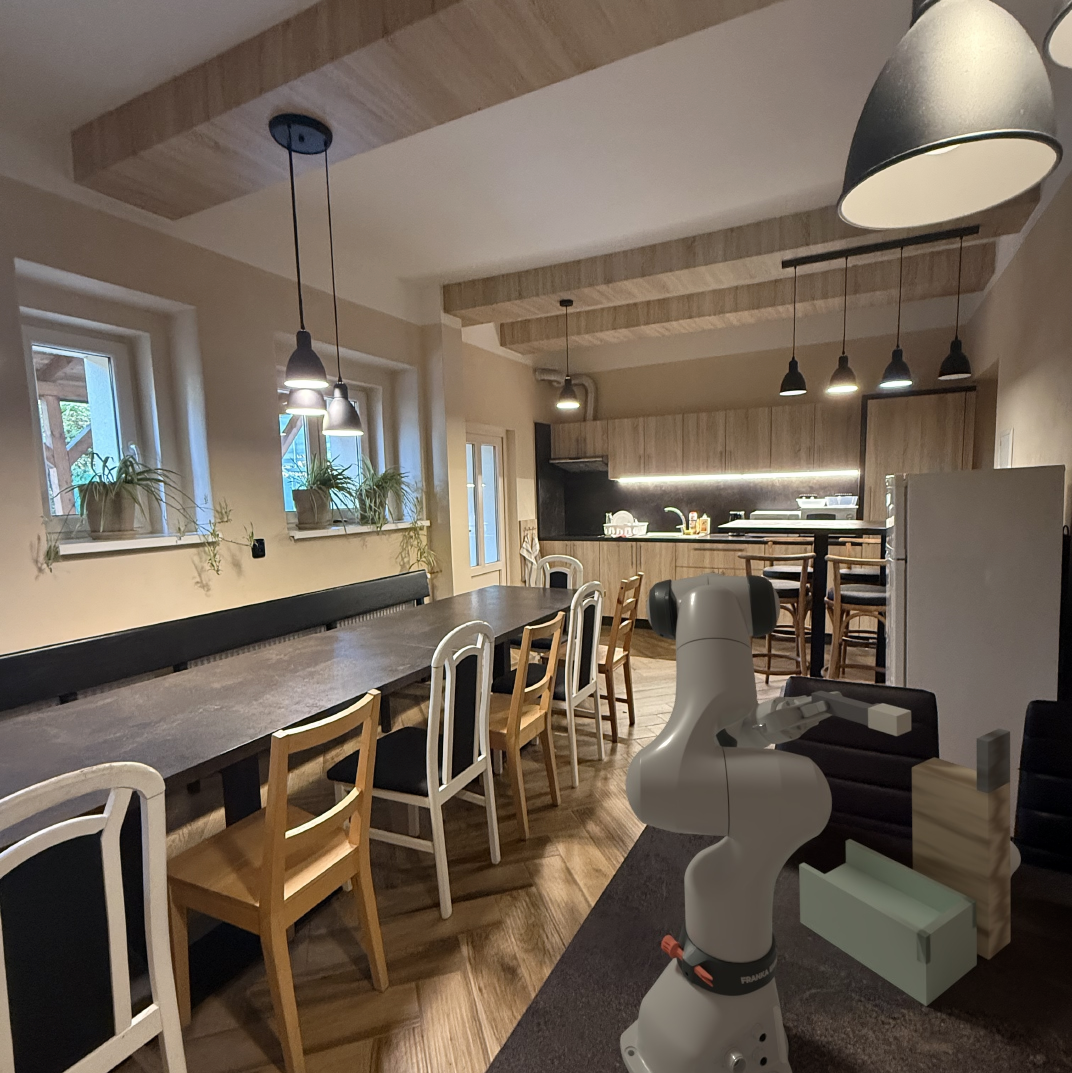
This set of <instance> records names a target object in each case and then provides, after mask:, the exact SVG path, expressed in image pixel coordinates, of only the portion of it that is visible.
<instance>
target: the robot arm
mask: <svg viewBox="0 0 1072 1073" xmlns="http://www.w3.org/2000/svg"><path fill="white" fill-rule="evenodd" d="M647 596H648V597H647V599H646V606H645V610H646V611H645V612H646V617H647V620H648V622H649V624H650V626H651V628H652V632H654V633H655V634H656V635H657V636H659V637H660V638H663V639H667V640H668V639H669V640H674V641H675V662H676V663H675V664H676V665H675V666H676V668H675V669H676V672H675V673H676V676H675V677H676V680H675V683H676V684H675V695H674V696H675V697H674V698H675V699H674V703H673V708H672V711H671V714H670V716H669V718H668V720H667V722H666V724H665V726H664V727H663V728H662V729H661V731H660V732H659V734H658V735H656V737H655V738H654V739H653V740H652V741H651V742H650V743H648V744H646V745H645V746H643V747H642V748H640V750H639V751H638V752H637V753H636V754H635V755H634V756H633V758H632V759H631V761H630V764H628V765H629V766H628V768H627V772H626V775H625V776H626V777H625V792H626V797H627V798H626V799H627V801H628V804H629V806H630V808H631V810H632V813H634V815H635V816H636V818H637V819H638V820H639V821H640V823H641V824H644V825H647V826H651V827H653V828H657V829H661V830H664V831H667V832H672V833H676V834H686V835H687V834H690V835H691V834H692V835H701V836H702V835H703V836H720V837H724V838H722V839H720V841H718V842H717V843H715V844H712V845H710V846H708V847H706V848H704V849H702V850H701V851H699V852H698V853H696V855H695V856H694V857H693V858H692V859H691V860H690V862H689V864H688V866H687V868H686V869H685V873H684V878H683V879H684V880H683V882H684V905H685V906H684V907H685V908H684V911H685V918H684V920H683V923H682V925H681V926H682V927H681V929H680V934H679V938H678V941H676V940H675V938H674V937H673V936H672V935H670V934H667V935H665V936H664V937H663V939H662V941H661V945H660V947H661V949H662V951H663V952H664V953H666V954H668V955H669V957H670V958H671V959H672V960H671V961H670V962H669V963H668V964H667V966H666V967H665V969H664V970H663V971H662V972H661V974H660V976H659V977H658V978H657V979H656V981H655V982H654V984H653V985H652V987H651V988H650V989H649V990H648V992H647V993H646V994H645V995H644V997H643V999H642V1001H641V1003H640V1005H639V1009H638V1010H639V1011H638V1018H637V1019H636V1020H635V1021H634V1022H632V1024H630V1026H628V1027H627V1029H625V1030H624V1031H623V1033H621V1035H620V1042H619V1046H620V1053H621V1057H622V1060H623V1063H624V1065H625V1067H626V1069H627V1071H628V1073H793V1071H792V1068H791V1065H790V1062H789V1042H788V1040H789V1039H788V1036H787V1033H786V1030H785V1028H784V1024H783V1017H782V1016H783V1015H782V1009H781V1004H780V999H779V995H778V994H779V993H778V990H777V988H778V987H777V982H776V977H775V976H776V973H777V967H778V964H777V962H778V952H777V946H776V944H777V942H776V937H775V934H774V932H773V906H774V905H773V904H774V903H773V902H774V893H775V886H776V882H777V879H778V877H779V876H780V875H779V874H780V872H781V871H782V869H783V867H784V865H785V864H786V862H787V861H788V859H789V858H790V857H791V856H792V855H793V854H795V852H796V851H797V850H798V849H799V848H800V847H802V846H803V845H804V844H806V843H807V842H808V841H810V840H812V839H813V838H815V837H817V836H819V835H820V834H822V832H823V831H824V829H825V828H826V826H827V824H828V822H829V819H830V818H831V817H830V816H831V813H832V804H833V801H832V800H833V798H832V792H831V789H830V785H829V782H828V780H827V778H826V777H825V774H824V773H823V771H822V769H820V767H819V766H818V765H817V763H816V762H814V761H813V760H812V759H811V758H810V757H808V756H805V755H801V754H797V753H792V752H789V751H785V750H780V749H775V748H768V747H770V746H771V745H779V744H783V743H788V742H790V741H794V740H797V739H799V738H801V736H802V735H803V734H804V733H806V732H807V731H808V730H810V729H811V728H813V727H816V726H818V725H819V722H820V721H823V720H825V719H827V718H829V717H831V716H833V715H832V714H828V713H825V712H822V711H825V710H828V709H830V705H829V703H828V701H827V700H823V701H820V702H817V703H813V704H812V698H811V695H810V696H807V695H799V696H791V697H789V696H785V697H784V696H776V697H773V698H771V699H769V700H765V701H763V702H760V703H759V700H758V692H757V682H756V675H755V665H754V659H753V658H754V657H753V650H752V644H751V638H750V637H752V638H759V637H763V636H767V635H769V634H772V633H773V632H774V630H775V629H776V628H777V625H778V624H777V623H778V621H779V618H780V613H781V602H780V597H779V594H778V593H777V590H776V589H775V588H774V586H773V583H772V581H770V580H769V579H768V578H766V577H765V576H762V575H755V574H747V575H746V576H743V575H741V576H739V575H724V574H722V573H718V572H705V573H704V572H703V573H702V574H698V575H697V576H690V577H685V578H678V579H674V580H672V579H671V578H669V579H664V580H662V581H659V582H656V583H654V584H653V586H652V587H651V588H650V589H649V594H648V595H647ZM828 693H832V694H836V695H839V696H843V694H842V693H841V692H840V691H836V690H835V691H831V692H828Z"/></svg>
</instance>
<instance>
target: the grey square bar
mask: <svg viewBox="0 0 1072 1073" xmlns="http://www.w3.org/2000/svg"><path fill="white" fill-rule="evenodd" d="M810 694H811V695H810V696H811V698H812V704H813V703H817V702H820V701H823V700H827V701H828V703H829V705H830V709H828V710H825V711H822V712H825V713H828V714H832V716H836V717H838V718H841V719H845V720H848V721H851V722H855V723H857V724H862V725H864V726H867V727H868V728H869V729H872V730H876V731H878V732H881V733H882V732H883V733H885V734H889V735H892V736H894V737H898V736H901V735H904V734H906V733H908V732H911V731H912V710H909V709H906V708H903V707H898V706H895V705H891V704H887V703H883V702H882V703H879V702H876V703H874V704H871V703H868V702H864V701H861V700H857V699H853V698H850V697H846V696H844V695H842V696H839V695H836V694H832V693H829V692H828V691H824V690H818V691H814V692H812V693H810Z"/></svg>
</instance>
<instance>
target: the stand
mask: <svg viewBox="0 0 1072 1073" xmlns="http://www.w3.org/2000/svg"><path fill="white" fill-rule="evenodd" d="M911 807H912V808H911V812H912V814H911V817H912V819H911V821H912V823H911V824H912V830H911V831H912V833H911V834H912V870H914V871H917V872H919V873H921V874H923V875H925V876H927V877H929V878H931V879H933V880H935V881H937V882H939V883H941V884H943V885H945V886H947V887H949V888H951V889H953V890H955V891H957V892H959V893H962V894H964V895H966V896H968V897H970V898H972V899H974V900H976V915H977V955H979V956H981V957H982V958H984V959H987V960H988V961H989V960H991V959H992V958H993V957H994V956H996V954H998V953H999V952H1000V951H1002V950H1003V949H1004V948H1005V947H1006V946H1007V945H1008V944H1010V943H1011V879H1010V841H1011V731H1010V730H1007V729H1003V728H997V729H994V730H992V731H990V732H987V733H986V734H983V735H982V736H979V737H977V738H976V769H972V768H969V767H966V766H964V765H960V764H958V763H954V762H951V761H949V760H944V759H942V758H938V757H932V758H930V759H927V760H925V761H923V762H921V763H919V764H916V765H914V766H912V767H911Z"/></svg>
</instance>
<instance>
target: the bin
mask: <svg viewBox="0 0 1072 1073" xmlns="http://www.w3.org/2000/svg"><path fill="white" fill-rule="evenodd" d="M798 869H799V872H798V873H799V874H798V875H799V880H798V881H799V914H800V915H799V917H800V919H799V922H800V923H801V924H802V925H803V926H805V927H807V928H809V929H810V930H811V931H813V932H815V934H817V935H819V936H820V937H822V938H823V939H825V940H826V941H828V942H829V943H830V944H832V945H833V946H835V947H837V948H838V949H839V950H841V951H843V952H844V953H846V954H847V955H849V956H850V957H852V958H853V959H855V960H856V961H858V962H859V963H861V964H862V965H863V966H865V967H866V968H868V969H869V970H871V971H873V972H875V973H876V974H877V975H878V976H880V977H882V978H883V979H885V980H886V981H888V982H889V983H891V984H892V985H894V986H895V987H897V988H898V989H900V990H901V991H903V992H904V993H906V994H907V995H908V996H910V997H912V998H913V999H915V1000H916V1001H918V1002H919V1003H920V1004H922V1005H924V1006H925V1007H927V1006H928V1005H930V1004H932V1002H933V1001H935V1000H936V999H937V998H938V997H939V996H941V995H942V994H943V993H944V992H946V991H947V990H948V989H950V987H952V986H953V985H954V984H955V983H956V982H958V981H959V980H960V979H962V978H963V977H964V976H965V975H966V974H968V972H970V971H971V970H972V969H973V968H974V967H977V965H978V964H977V963H978V962H977V961H978V959H977V956H978V954H977V915H976V900H974V899H972V898H970V897H968V896H966V895H964V894H962V893H959V892H957V891H955V890H953V889H951V888H949V887H947V886H945V885H943V884H941V883H939V882H937V881H935V880H933V879H931V878H929V877H927V876H925V875H923V874H921V873H919V872H917V871H914V870H913V868H910V867H908V866H906V865H904V864H902V863H900V862H898V861H895V860H894V859H892V858H890V857H887V856H885V855H884V854H882V853H880V852H878V851H876V850H874V849H871V848H869V847H867V846H865V845H863V844H861V843H859V842H857V841H855V840H853V839H851V838H849V839H847V840H845V863H843V864H841V865H839V866H837V867H836V868H834V869H832V870H830V871H828V872H826V873H823V872H821V871H820V870H818V869H816V868H814V867H812V866H811V865H809V864H807V863H805V862H802V863H800V864H798Z"/></svg>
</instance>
